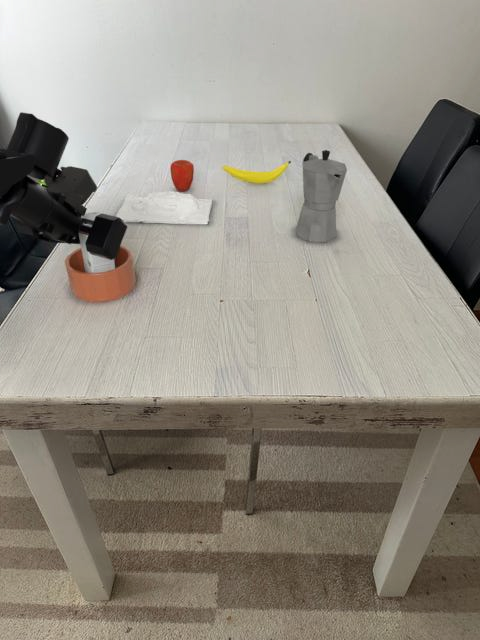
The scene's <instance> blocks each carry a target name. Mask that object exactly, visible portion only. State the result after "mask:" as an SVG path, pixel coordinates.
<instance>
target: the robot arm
mask: <svg viewBox="0 0 480 640" xmlns="http://www.w3.org/2000/svg"><path fill="white" fill-rule="evenodd" d="M69 139H70V137H69V136H68V134H67V133H66V132H65V131H64V130H62V129H61V128H59V127H56V126H54V125H53V124H51V123H49V122H47V121H46V120H43V119H40V118H38V117H37V116H35V114H34V113H29V112H23V111H22V112H19V115H18V117H17V120H16V124H15V127H14V130H13V133H12V135H11V138H10V140H9V142H8V144H7V147H6V148H1V147H0V225H2V226H6V225H8V222H9V218H10V217H12V218H14V219H16V223H15V225H16V229H17V232H18V233H20V234H22V235H24V236H27V237H30V238H32V239H33V238H34V239H37V240H39V241H40V240H41V241H44V242H48V243H53V244H68V245H71V244H72V245H80V239H79V234H78V233H81V234H85V235H88V237H87V240H86V242H85V245H86V250H87V251H88V252H89V253H90V254H92V255H96V256H99V257H102V258H106V259H109V260H113V259H114V258H116V256H117V254H118V253H119V251H120V245H121V246H122V242H123V239H124V237H125V234H126V232H127V229H128V227H129V226H128V224H127V222H125V221H123V220H122V219H121V218H119V217H116V215H111V214H108V213H102V212H100V213H101V214H99V215H97V216H96V217H95V219H94V221H93V220H89V219H85V218H81V216H84V215H85V214H86V213H87V210H88V207H86V206H84V204H86V203H87V201H88V199H90V197H91V196H92V194H94V193H96V191H97V190H98V186H97V184H96V182H95V180H94V179H93V176H92V175H91V174H90V172H89V170H88V169H86V168H81V167H76V166H72V165H69V166H60V169H59V165H60V162H61V160H62V158H63V155H64V152H65V150H66V148H67V145H68V142H69ZM32 178H33V179H32ZM34 179H36V180H40V181H44V184H45V185H46V187H47V188H46V187H44V186H43V185H41V184H40V183H38V182H37V181H35V180H34ZM84 225H85V226H84ZM88 226H89V227H88Z"/></svg>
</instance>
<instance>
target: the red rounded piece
mask: <svg viewBox="0 0 480 640" xmlns="http://www.w3.org/2000/svg"><path fill="white" fill-rule="evenodd" d="M169 169H170V177H171V181H172V184H173V186H174V188H175V189H176V191H178V192H185V191H188V190H189V189H190V188H191V186H192V184H193V181H194V174H195V167H194V163H192V162H191V161H190V160H185V159H177V160H174V161H173V162H171V164H170V168H169Z"/></svg>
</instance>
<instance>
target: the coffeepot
mask: <svg viewBox="0 0 480 640" xmlns="http://www.w3.org/2000/svg"><path fill="white" fill-rule="evenodd" d="M321 154H322V155H321V157H322V158H319V156H318V155H316V154H313V153H311V152H307V153H306V154H305V156H304V157H303V159H302V162H301V163H302V164H301V165H302V187H303V203H302V205H301V210H300V213H299V216H298V220H297V223H296V224H297V225H296V227H295V229H296V231H295V232H296V237H298V238H299V239H301V240H303V241H306V242H310V243H314V244H315V243H316V244H317V243H318V244H319V243H328V242H331V241H333V240H334V239H335V238H337V212H336V211H337V210H336V204H337V201H339V198H340V194H341V191H342V188H343V185H344V181H345V178H346V176H347V175H346V174H347V171H348V168H347V165H346V163H344V162H341V161H337V160H334V159H330V158H329V157H330V154H331V151H330V150H327V149H324V150H322V151H321Z"/></svg>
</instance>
